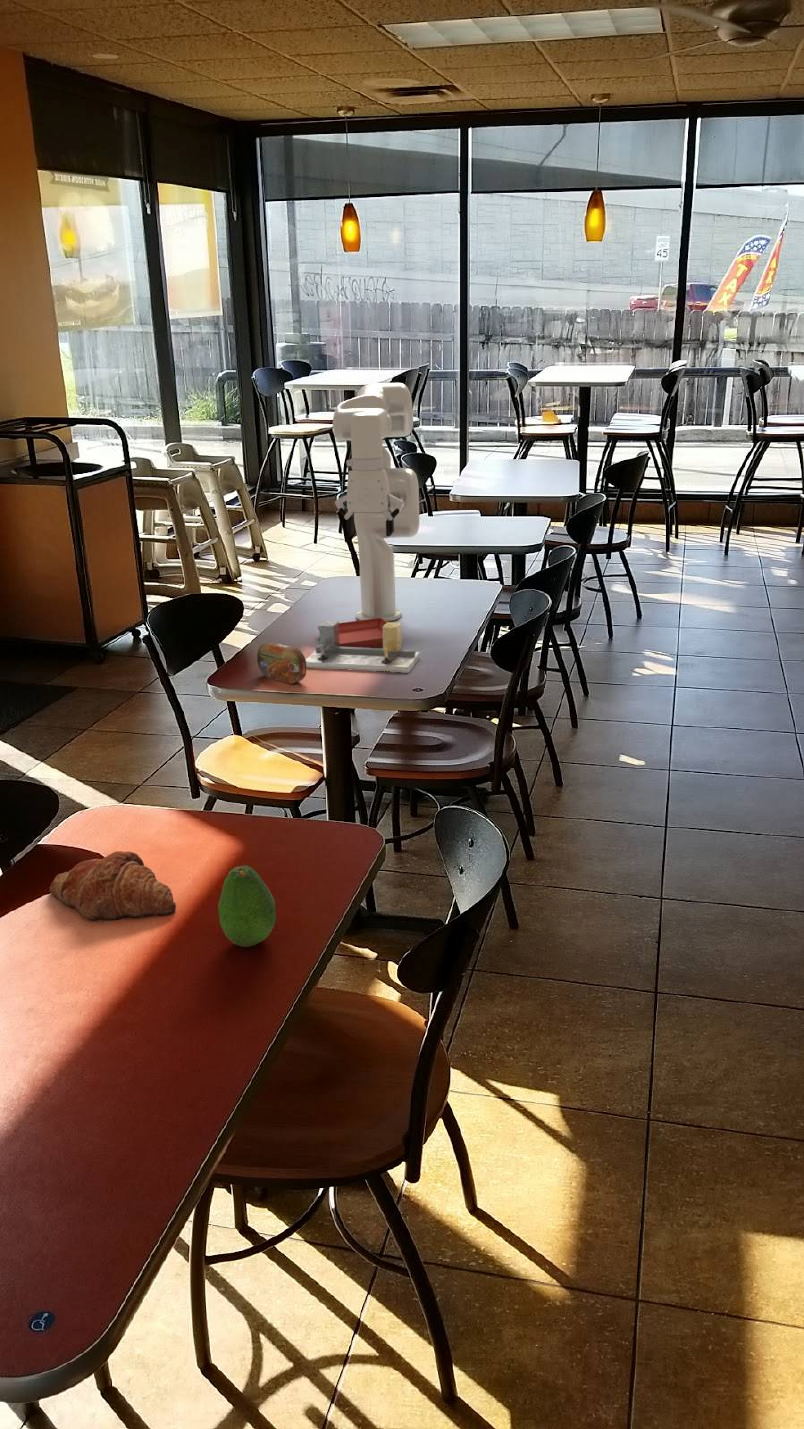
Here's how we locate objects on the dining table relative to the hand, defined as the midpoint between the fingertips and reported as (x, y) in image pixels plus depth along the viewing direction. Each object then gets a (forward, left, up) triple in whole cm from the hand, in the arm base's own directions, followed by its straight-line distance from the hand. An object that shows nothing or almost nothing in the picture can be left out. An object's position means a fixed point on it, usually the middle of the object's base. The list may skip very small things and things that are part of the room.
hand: (370, 535), depth 283 cm
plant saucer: (-3, -5, -29) cm, 29 cm away
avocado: (+141, +21, -28) cm, 145 cm away
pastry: (+134, -4, -29) cm, 137 cm away
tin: (+30, -14, -29) cm, 44 cm away
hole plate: (+15, +1, -28) cm, 32 cm away
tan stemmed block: (+14, +8, -26) cm, 31 cm away
